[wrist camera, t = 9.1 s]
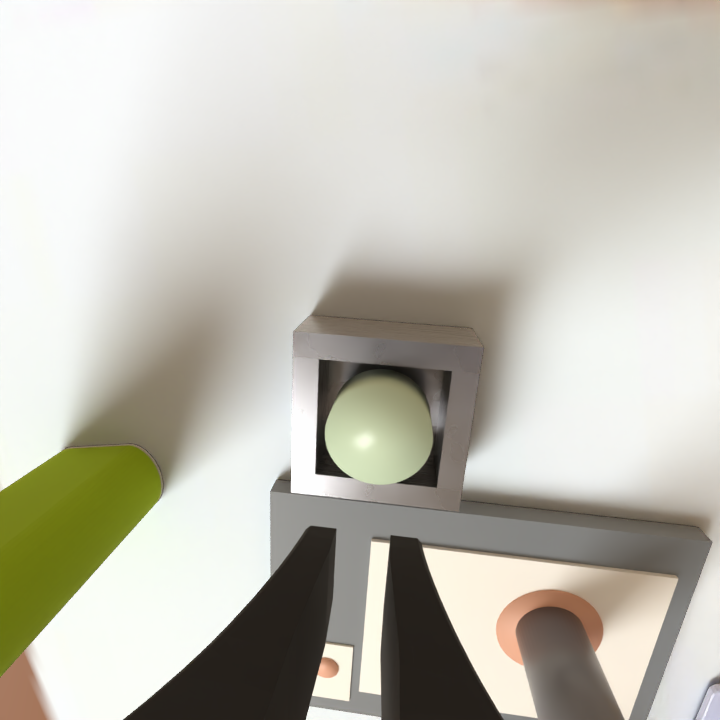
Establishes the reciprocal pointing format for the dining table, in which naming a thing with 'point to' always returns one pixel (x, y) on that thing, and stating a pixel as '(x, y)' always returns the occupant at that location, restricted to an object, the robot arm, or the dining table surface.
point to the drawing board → (500, 590)
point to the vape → (65, 531)
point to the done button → (379, 427)
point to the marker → (563, 668)
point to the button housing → (392, 352)
